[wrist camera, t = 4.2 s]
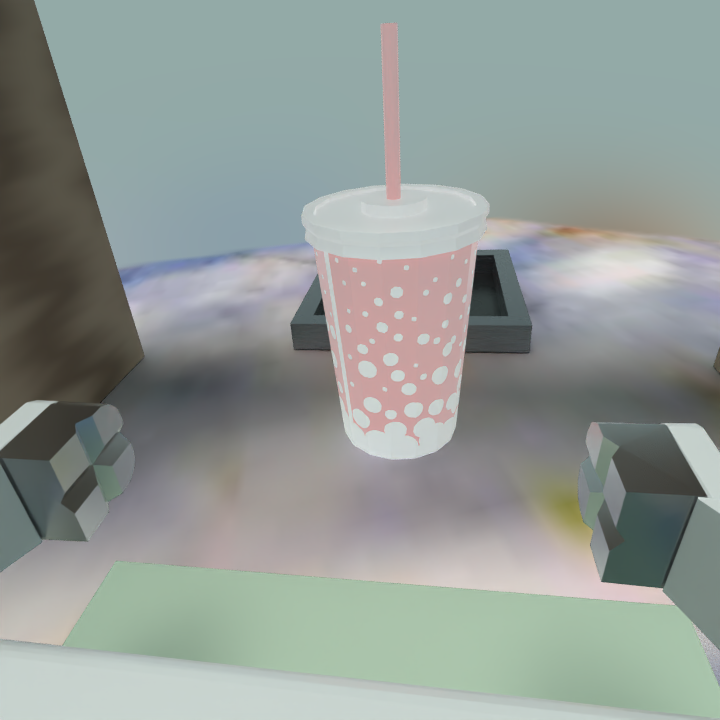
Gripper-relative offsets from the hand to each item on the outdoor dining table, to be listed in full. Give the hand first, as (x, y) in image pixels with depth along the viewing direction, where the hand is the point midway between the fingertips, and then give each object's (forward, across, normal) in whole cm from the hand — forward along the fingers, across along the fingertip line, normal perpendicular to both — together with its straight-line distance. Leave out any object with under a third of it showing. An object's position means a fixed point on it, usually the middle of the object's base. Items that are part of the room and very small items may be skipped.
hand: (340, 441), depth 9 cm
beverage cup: (+10, 0, +8) cm, 13 cm away
